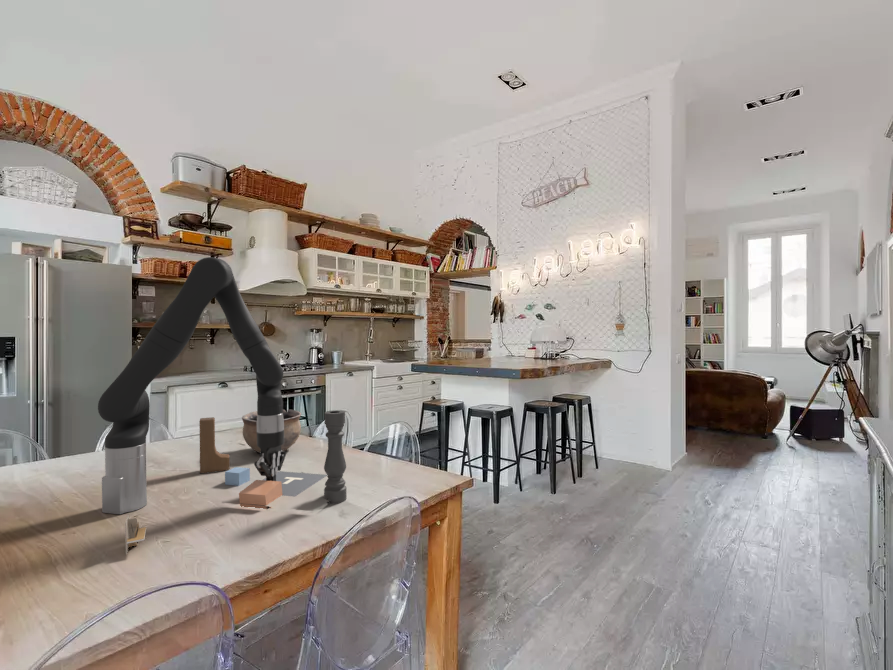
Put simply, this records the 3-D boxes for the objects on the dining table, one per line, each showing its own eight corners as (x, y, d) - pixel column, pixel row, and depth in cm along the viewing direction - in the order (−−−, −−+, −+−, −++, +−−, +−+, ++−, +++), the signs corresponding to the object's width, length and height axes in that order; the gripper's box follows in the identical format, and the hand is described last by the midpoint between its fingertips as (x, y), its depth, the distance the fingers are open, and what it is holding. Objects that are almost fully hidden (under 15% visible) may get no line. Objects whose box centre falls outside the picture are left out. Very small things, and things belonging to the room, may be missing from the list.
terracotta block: (266, 509, 126) (265, 495, 126) (240, 506, 128) (238, 493, 127) (282, 494, 134) (281, 481, 133) (257, 492, 136) (256, 479, 135)
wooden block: (229, 466, 164) (228, 415, 164) (229, 470, 160) (229, 418, 160) (200, 470, 161) (200, 418, 160) (200, 473, 157) (199, 420, 156)
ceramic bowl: (302, 443, 198) (302, 407, 198) (300, 456, 177) (300, 417, 177) (246, 446, 192) (246, 410, 192) (237, 461, 171) (237, 420, 171)
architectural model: (146, 542, 108) (145, 510, 107) (144, 555, 102) (143, 521, 101) (128, 546, 106) (127, 513, 106) (125, 559, 100) (124, 525, 100)
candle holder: (324, 504, 129) (323, 414, 129) (324, 496, 135) (323, 410, 135) (347, 502, 131) (346, 413, 130) (345, 494, 137) (345, 409, 136)
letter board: (294, 500, 132) (294, 496, 132) (239, 495, 137) (239, 491, 137) (328, 477, 152) (328, 474, 152) (279, 474, 156) (279, 470, 156)
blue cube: (239, 489, 142) (239, 473, 142) (225, 488, 143) (224, 471, 143) (249, 484, 147) (249, 468, 146) (236, 482, 148) (236, 467, 148)
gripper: (268, 435, 129) (269, 497, 129) (294, 425, 142) (295, 481, 142) (244, 433, 131) (245, 495, 131) (272, 424, 144) (273, 479, 144)
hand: (271, 488), depth 137 cm, fingers closed
